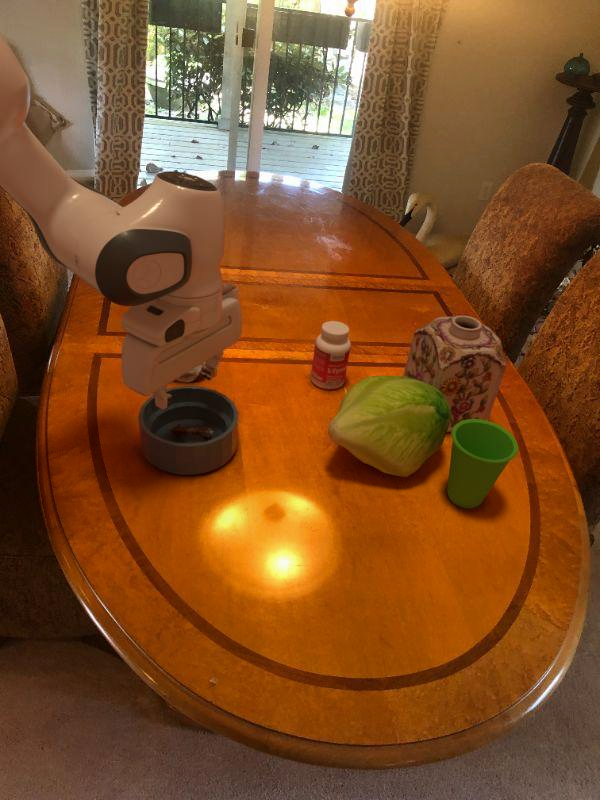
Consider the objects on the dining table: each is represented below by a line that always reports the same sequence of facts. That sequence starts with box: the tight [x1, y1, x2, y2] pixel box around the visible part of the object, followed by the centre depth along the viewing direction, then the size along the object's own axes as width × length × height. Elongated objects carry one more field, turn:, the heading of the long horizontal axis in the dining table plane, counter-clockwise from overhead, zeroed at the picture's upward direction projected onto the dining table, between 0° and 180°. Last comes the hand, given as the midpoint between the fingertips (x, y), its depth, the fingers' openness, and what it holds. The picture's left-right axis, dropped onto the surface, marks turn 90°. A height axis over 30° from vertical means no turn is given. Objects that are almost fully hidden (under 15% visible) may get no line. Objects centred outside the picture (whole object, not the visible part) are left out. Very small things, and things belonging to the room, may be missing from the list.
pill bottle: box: [310, 320, 352, 390], centre depth 108 cm, size 6×6×11 cm
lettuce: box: [327, 375, 451, 478], centre depth 92 cm, size 15×20×14 cm
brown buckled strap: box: [170, 423, 214, 441], centre depth 92 cm, size 2×8×4 cm, turn 57°
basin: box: [138, 385, 239, 476], centre depth 92 cm, size 14×14×6 cm
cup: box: [446, 419, 519, 509], centre depth 87 cm, size 9×9×11 cm
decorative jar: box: [402, 315, 507, 433], centre depth 101 cm, size 12×12×18 cm
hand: (187, 390), depth 87 cm, fingers open, 8 cm apart
